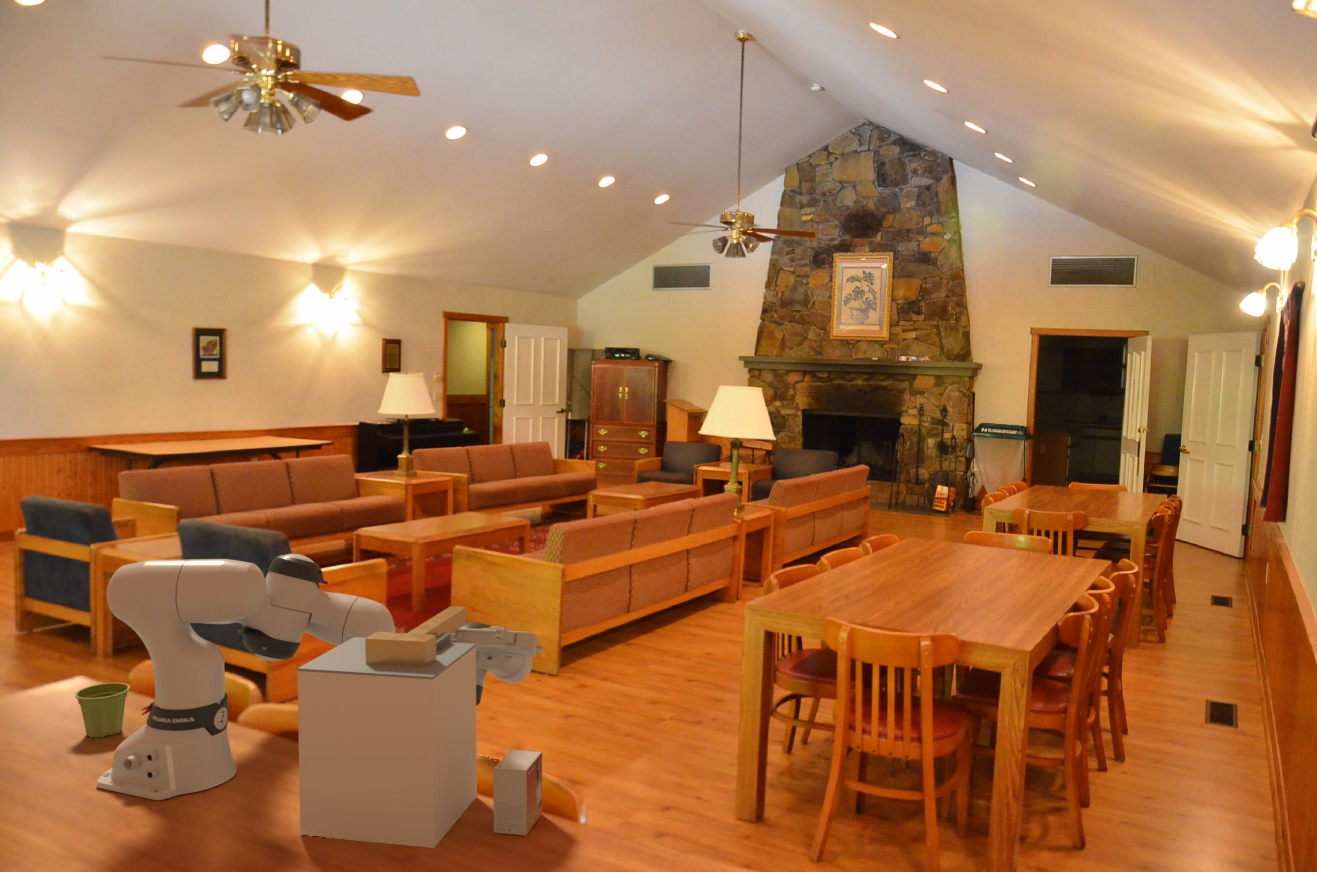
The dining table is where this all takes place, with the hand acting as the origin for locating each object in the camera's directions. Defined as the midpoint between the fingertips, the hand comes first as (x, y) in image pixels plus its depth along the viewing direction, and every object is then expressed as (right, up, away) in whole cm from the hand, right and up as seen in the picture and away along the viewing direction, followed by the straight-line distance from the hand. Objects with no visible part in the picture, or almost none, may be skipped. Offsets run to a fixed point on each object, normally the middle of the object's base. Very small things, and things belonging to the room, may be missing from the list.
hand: (475, 631), depth 183 cm
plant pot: (-75, -22, +7) cm, 79 cm away
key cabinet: (-8, -24, -28) cm, 38 cm away
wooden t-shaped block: (-4, +3, -22) cm, 22 cm away
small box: (+13, -25, -30) cm, 41 cm away
